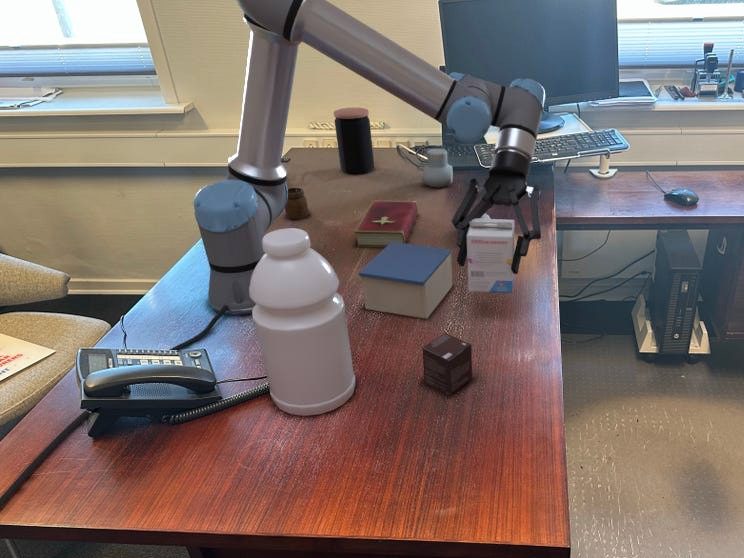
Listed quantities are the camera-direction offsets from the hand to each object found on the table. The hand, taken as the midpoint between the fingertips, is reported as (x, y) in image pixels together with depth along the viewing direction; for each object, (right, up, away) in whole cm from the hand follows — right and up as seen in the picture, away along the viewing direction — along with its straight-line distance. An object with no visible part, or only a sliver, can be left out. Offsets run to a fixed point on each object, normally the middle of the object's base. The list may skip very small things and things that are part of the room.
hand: (486, 267), depth 121 cm
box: (-7, -21, -10) cm, 24 cm away
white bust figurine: (-1, +18, +47) cm, 50 cm away
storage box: (-16, -4, +15) cm, 22 cm away
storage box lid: (-16, +2, +10) cm, 19 cm away
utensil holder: (-51, +21, +54) cm, 77 cm away
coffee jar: (-41, +43, +86) cm, 104 cm away
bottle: (-29, -23, -12) cm, 39 cm away
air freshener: (-14, +35, +74) cm, 83 cm away
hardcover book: (-25, +16, +45) cm, 54 cm away
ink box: (+1, -2, +5) cm, 6 cm away
